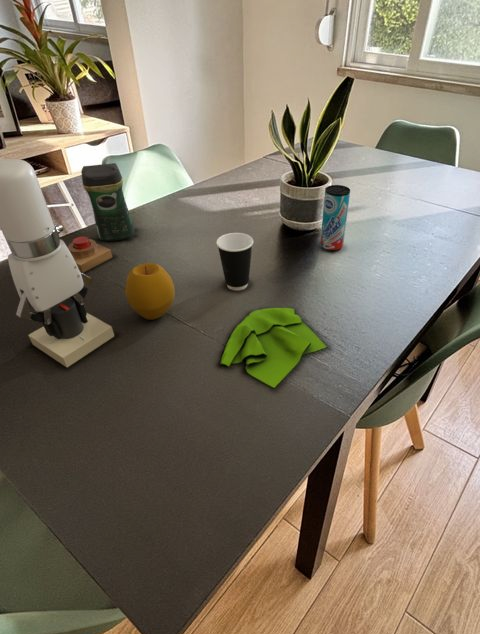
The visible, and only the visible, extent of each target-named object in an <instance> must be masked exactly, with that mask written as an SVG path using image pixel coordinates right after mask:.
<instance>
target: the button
mask: <svg viewBox="0 0 480 634" xmlns="http://www.w3.org/2000/svg"><path fill="white" fill-rule="evenodd" d="M88 239H89V238H88V237H87V236H78V237H76V238H73V240H72V242H73V244H74V247H75V249H78V250H81V249H86V248H88V247H90V243H89V240H88Z"/></svg>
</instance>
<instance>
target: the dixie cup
mask: <svg viewBox="0 0 480 634" xmlns="http://www.w3.org/2000/svg"><path fill="white" fill-rule="evenodd" d="M215 242H216V243H215V244H216V246H217V249H218V252H219V258H220V262H221V267H222V272H223V277H224V282H225V284H226V285H227V288H228V289H229V290H231V291H238V292H239V291H243V290H245V289H246V288H247V287H248V285H249V282H250V274H251V263H252V262H251V261H252V251H253V249H252V248H253V244H254V239H253V237H252V236H251V235H249V234H246V233H243V232H230V233H226V234H223V235H221V236H219V237H218V238H217V239H216V241H215Z"/></svg>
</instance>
